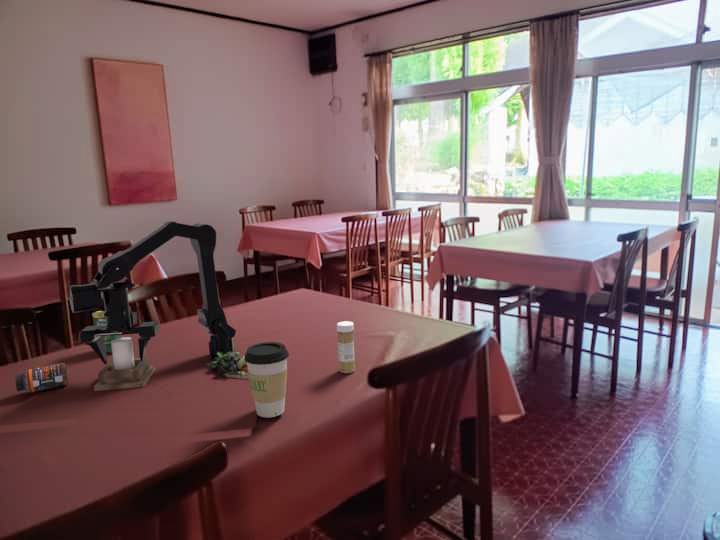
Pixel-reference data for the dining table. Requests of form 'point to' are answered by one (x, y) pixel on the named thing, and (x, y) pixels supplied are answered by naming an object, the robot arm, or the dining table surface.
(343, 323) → the sprinkles bottle
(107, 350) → the coffee box
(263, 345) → the coffee cup
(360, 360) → the dining table surface
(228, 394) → the dining table surface
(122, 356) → the white tapered cylinder
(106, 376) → the holder
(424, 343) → the dining table surface
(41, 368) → the supplement bottle
